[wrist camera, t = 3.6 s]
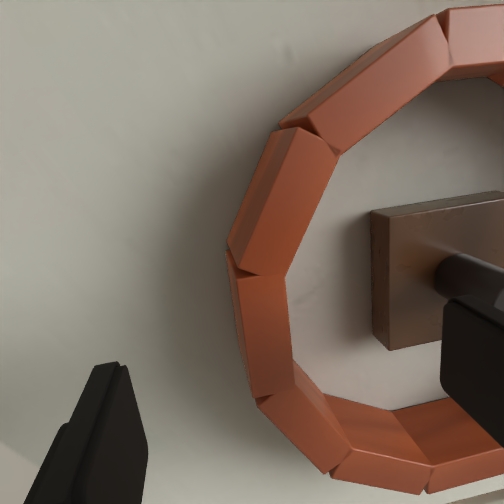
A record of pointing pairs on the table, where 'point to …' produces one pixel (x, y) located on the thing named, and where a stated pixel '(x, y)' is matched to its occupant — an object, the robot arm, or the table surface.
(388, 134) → the table surface
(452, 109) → the table surface
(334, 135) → the hoop
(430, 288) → the post
